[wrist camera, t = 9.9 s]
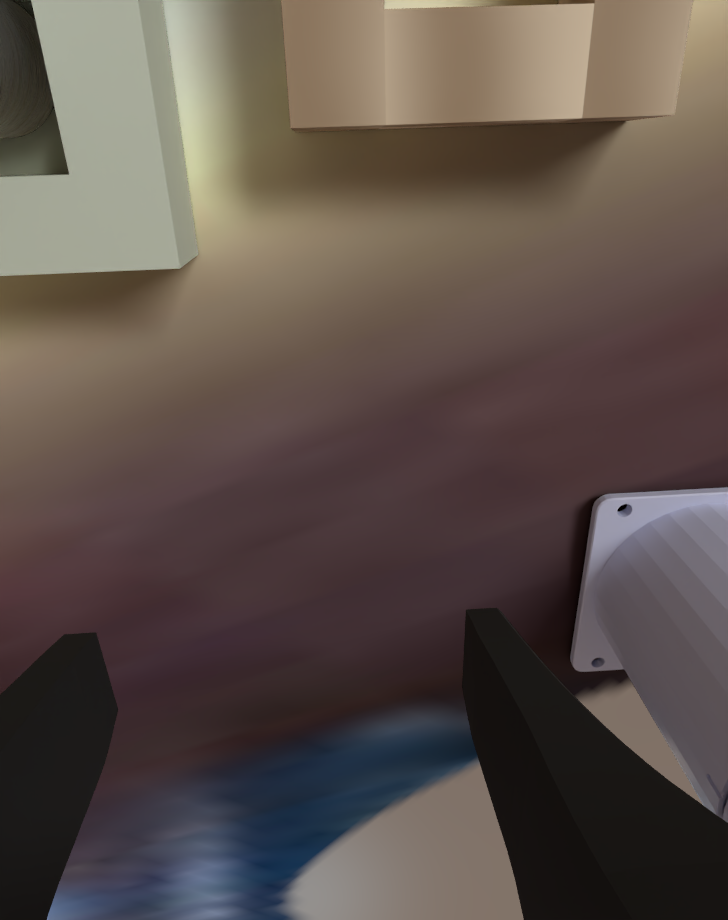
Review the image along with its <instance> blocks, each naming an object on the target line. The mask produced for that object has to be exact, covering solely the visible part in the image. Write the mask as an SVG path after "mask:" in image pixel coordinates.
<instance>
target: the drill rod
mask: <svg viewBox="0 0 728 920" xmlns="http://www.w3.org/2000/svg"><path fill="white" fill-rule="evenodd" d="M53 106H54V102H53V98H52V93H51V89H50V84H49V80H48V75H47V70H46V66H45V61H44V57H43V52H42V48H41V43H40V38H39V34H38V29H37V25H36V21H35V20H34V19H33V18H32V17H31V16H30V14H29V13H28V12H27V11H25V10H24V9H23V8H22V7H21V6H20V5H19V4H17V3H16V2H14V1H13V0H0V138H15V137H20V136H23V135H26V134H29V133H30V132H32V131H34V130H36V129H37V128H38V127H39V126H41V125H42V124H43V122H44V121H45V120H46V119H47V118H48V116H49V114H50V113H51V111H52V109H53Z"/></svg>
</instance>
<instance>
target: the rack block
mask: <svg viewBox="0 0 728 920" xmlns="http://www.w3.org/2000/svg"><path fill="white" fill-rule="evenodd" d="M31 2H32V6H33V11H34V15H35V20H36V25H37V29H38V34H39V38H40V43H41V48H42V52H43V57H44V61H45V66H46V70H47V75H48V80H49V84H50V89H51V93H52V98H53V102H54V107H55V112H56V116H57V121H58V125H59V130H60V135H61V139H62V144H63V148H64V153H65V157H66V162H67V167H68V171H69V174H45V175H18V176H0V276H13V275H37V274H61V273H85V272H109V271H133V270H157V269H180V268H181V267H183V266H184V265H185V264H187V263H188V262H189V261H191V260H192V259H193V258H194V257H196V256H197V255H198V248H197V241H196V234H195V227H194V220H193V213H192V206H191V199H190V192H189V185H188V178H187V171H186V164H185V157H184V150H183V143H182V136H181V129H180V122H179V115H178V108H177V101H176V94H175V87H174V80H173V73H172V66H171V59H170V52H169V45H168V38H167V31H166V24H165V17H164V10H163V3H162V0H31Z"/></svg>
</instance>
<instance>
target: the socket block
mask: <svg viewBox="0 0 728 920" xmlns="http://www.w3.org/2000/svg"><path fill="white" fill-rule="evenodd" d="M692 5H693V0H558V4H554V5H518V6H482V7H446V8H409V9H384V0H281V7H282V20H283V34H284V47H285V61H286V74H287V88H288V101H289V115H290V128H291V129H292V130H293V131H295V132H312V131H342V130H371V129H400V128H429V127H458V126H487V125H516V124H545V123H575V122H604V121H629V120H638V119H646V118H655V117H663V116H671V115H675V109H676V103H677V97H678V90H679V84H680V78H681V72H682V66H683V60H684V54H685V48H686V42H687V36H688V29H689V23H690V17H691V11H692Z"/></svg>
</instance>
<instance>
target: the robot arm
mask: <svg viewBox="0 0 728 920" xmlns="http://www.w3.org/2000/svg"><path fill="white" fill-rule="evenodd" d="M624 504H627V506H626V508H625V509H624V510H622V511H617V510H618V508H619V507H620V506H621V505H624ZM595 658H598V659H597V660H594V659H595ZM570 661H571V663H572V666H573V667H574V669H575V670H577V671H579V672H590V671H605V670H621V669H624V670H625V671H626V673H627V675H628V677H629V678H630V680H631V682H632V683H633V685H634V687H635V689H636V690H637V692H638V694H639V695H640V697H641V699H642V700H643V702H644V704H645V706H646V707H647V709H648V711H649V712H650V714H651V716H652V718H653V720H654V721H655V723H656V725H657V726H658V728H659V730H660V731H661V733H662V735H663V737H664V738H665V740H666V742H667V744H668V745H669V747H670V749H671V750H672V752H673V754H674V756H675V757H676V759H677V761H678V762H679V764H680V766H681V768H682V769H683V771H684V773H685V774H686V776H687V778H688V780H689V781H690V783H691V785H692V787H693V788H694V790H695V792H696V793H697V795H698V797H699V798H700V800H701V802H702V804H703V805H704V806H703V805H702V804H700V803H699V802H698V801H696V800H695V799H694V798H692V797H691V796H690V795H688V794H686V793H685V792H684V791H683V790H681V789H680V788H678V787H677V786H676V785H674V784H673V783H671V782H670V781H669V780H668V779H666V778H665V777H664V776H663V775H661V774H660V773H659V772H658V771H656V770H655V769H654V768H652V767H651V766H650V765H649V764H647V763H646V762H645V761H644V760H643V759H642V758H640V757H639V756H638V755H637V754H635V753H634V752H633V751H632V750H631V749H630V748H629V747H627V746H626V745H625V744H624V743H623V742H622V741H621V740H619V739H618V738H617V737H616V736H615V735H614V734H613V733H612V732H610V730H609V729H607V728H606V727H605V726H604V725H603V724H602V723H601V722H600V721H599V720H598V719H597V718H596V717H595V716H594V715H593V714H592V713H591V712H590V711H589V710H588V709H587V708H586V707H585V706H584V705H583V704H582V703H581V702H580V701H579V700H578V699H577V698H576V697H575V696H574V695H573V694H572V693H571V692H570V691H569V690H568V689H567V688H566V687H565V686H564V685H563V684H562V682H561V681H560V680H559V679H558V678H557V677H556V676H555V675H554V674H553V673H552V672H551V671H550V669H549V668H548V667H547V666H546V665H545V664H544V663H543V662H542V661H541V659H540V658H539V657H538V656H537V655H536V654H535V652H534V651H533V650H532V649H531V648H530V647H529V645H528V644H527V643H526V642H525V641H524V639H523V638H522V637H521V636H520V635H519V633H518V632H517V631H516V630H515V628H514V627H513V626H512V625H511V623H510V622H509V621H508V620H507V618H506V617H505V616H504V614H503V613H502V612H501V611H500V610H499V609H498V608H486V609H470V610H466V621H465V641H464V661H463V681H462V688H463V694H464V699H465V704H466V710H467V715H468V720H469V725H470V730H471V735H472V739H473V742H474V745H475V749H476V752H477V755H478V758H479V762H480V765H481V768H482V771H483V775H484V778H485V781H486V784H487V787H488V791H489V794H490V797H491V800H492V803H493V807H494V810H495V813H496V816H497V819H498V822H499V826H500V829H501V832H502V835H503V838H504V841H505V845H506V848H507V851H508V855H509V859H510V862H511V866H512V870H513V873H514V877H515V881H516V885H517V890H518V895H519V899H520V904H521V908H522V913H523V918H524V920H728V487H725V488H707V489H689V490H672V491H654V492H636V493H618V494H606V495H603V496H601V497H599V498H598V499H597V500H596V501H595V502H594V505H593V508H592V515H591V521H590V528H589V535H588V541H587V548H586V555H585V562H584V568H583V575H582V582H581V588H580V595H579V602H578V608H577V615H576V622H575V628H574V635H573V642H572V649H571V655H570ZM117 712H118V708H117V704H116V701H115V697H114V694H113V690H112V687H111V683H110V680H109V676H108V673H107V669H106V666H105V662H104V659H103V655H102V652H101V648H100V645H99V641H98V638H97V634H96V633H81V634H65V635H63V636H62V637H61V638H60V639H59V640H58V641H57V642H55V643H54V644H53V645H52V646H51V647H50V648H49V649H48V650H47V651H46V652H45V653H44V654H43V655H42V656H41V657H39V658H38V659H37V660H36V661H35V662H34V663H33V664H32V665H31V666H30V667H29V668H28V669H27V670H26V671H25V672H24V673H23V674H22V675H21V676H20V677H19V678H18V679H16V680H15V681H14V682H13V683H12V684H11V685H10V686H9V687H8V688H7V689H6V690H5V691H4V692H3V693H2V694H1V695H0V920H47V916H48V913H49V910H50V907H51V904H52V901H53V898H54V896H55V893H56V890H57V887H58V884H59V881H60V879H61V876H62V874H63V871H64V869H65V866H66V863H67V861H68V858H69V856H70V853H71V850H72V848H73V845H74V843H75V840H76V837H77V835H78V832H79V830H80V827H81V824H82V822H83V819H84V817H85V814H86V812H87V809H88V806H89V804H90V801H91V798H92V796H93V793H94V791H95V788H96V785H97V783H98V780H99V777H100V775H101V772H102V769H103V766H104V764H105V760H106V757H107V753H108V749H109V745H110V741H111V737H112V733H113V729H114V725H115V720H116V716H117Z"/></svg>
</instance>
